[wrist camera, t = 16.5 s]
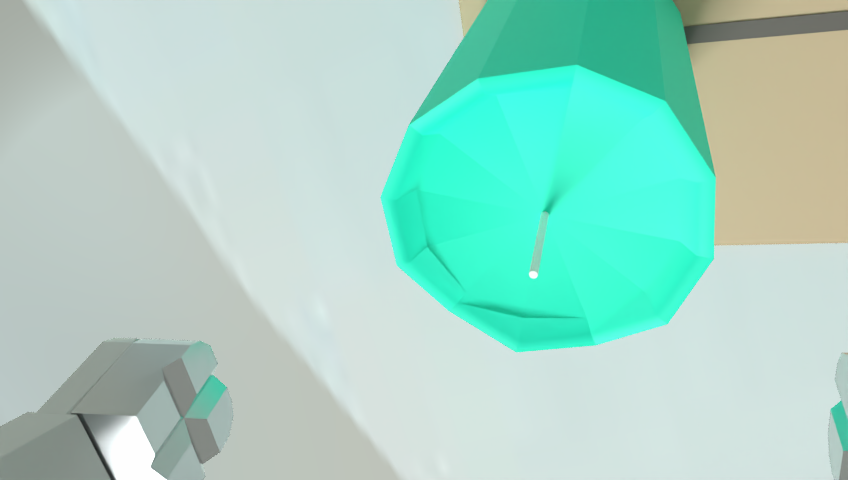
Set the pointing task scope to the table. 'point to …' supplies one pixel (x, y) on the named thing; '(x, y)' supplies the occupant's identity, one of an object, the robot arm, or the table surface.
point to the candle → (558, 174)
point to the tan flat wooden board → (769, 114)
